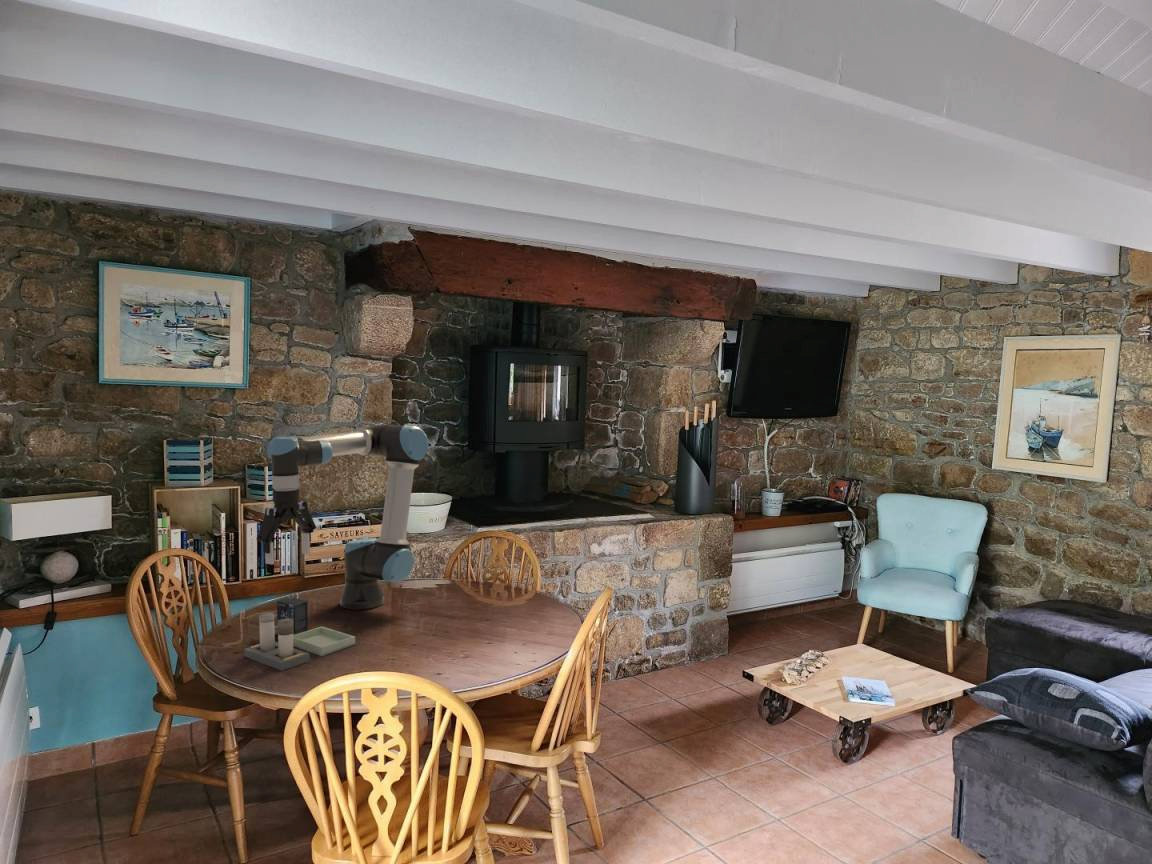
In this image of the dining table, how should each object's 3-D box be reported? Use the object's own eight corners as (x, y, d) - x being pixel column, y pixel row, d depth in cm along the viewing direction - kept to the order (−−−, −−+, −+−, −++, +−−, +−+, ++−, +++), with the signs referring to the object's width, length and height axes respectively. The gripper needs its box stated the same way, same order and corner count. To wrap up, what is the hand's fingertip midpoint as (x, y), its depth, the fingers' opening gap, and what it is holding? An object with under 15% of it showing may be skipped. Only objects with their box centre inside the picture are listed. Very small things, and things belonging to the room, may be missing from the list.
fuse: (269, 651, 228) (269, 611, 227) (278, 654, 225) (277, 614, 225) (256, 655, 224) (256, 615, 224) (265, 659, 222) (264, 618, 221)
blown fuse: (288, 658, 223) (287, 617, 222) (297, 661, 220) (296, 620, 219) (275, 662, 219) (274, 621, 218) (284, 666, 217) (283, 624, 216)
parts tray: (288, 644, 234) (288, 636, 234) (322, 634, 244) (321, 626, 244) (321, 656, 225) (321, 647, 225) (355, 644, 235) (355, 636, 234)
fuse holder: (244, 656, 224) (244, 648, 224) (272, 647, 231) (272, 639, 231) (281, 670, 213) (281, 661, 213) (309, 661, 221) (309, 652, 221)
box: (276, 633, 244) (276, 600, 243) (291, 628, 249) (290, 596, 248) (294, 638, 240) (293, 604, 239) (308, 633, 245) (308, 600, 244)
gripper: (309, 482, 244) (311, 548, 246) (241, 494, 222) (244, 566, 224) (326, 484, 240) (328, 551, 242) (259, 496, 219) (262, 569, 220)
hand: (288, 558), depth 233 cm, fingers open, 13 cm apart
